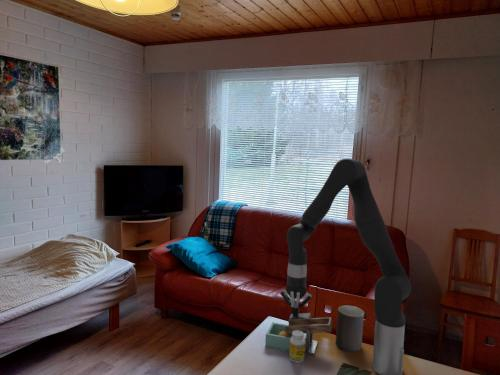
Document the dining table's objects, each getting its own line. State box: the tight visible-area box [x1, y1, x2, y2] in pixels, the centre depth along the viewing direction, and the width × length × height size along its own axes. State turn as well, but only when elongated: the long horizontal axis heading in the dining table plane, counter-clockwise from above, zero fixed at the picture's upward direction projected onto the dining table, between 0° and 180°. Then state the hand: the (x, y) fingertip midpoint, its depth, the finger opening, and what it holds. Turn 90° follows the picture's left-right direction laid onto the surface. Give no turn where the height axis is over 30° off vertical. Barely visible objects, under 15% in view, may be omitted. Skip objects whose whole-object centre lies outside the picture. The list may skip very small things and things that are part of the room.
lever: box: [285, 312, 334, 334], centre depth 140 cm, size 18×15×3 cm
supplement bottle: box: [288, 330, 306, 364], centre depth 129 cm, size 5×5×10 cm
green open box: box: [264, 322, 292, 353], centre depth 139 cm, size 10×10×5 cm
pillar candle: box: [334, 304, 365, 352], centre depth 139 cm, size 10×10×15 cm
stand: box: [304, 329, 318, 357], centre depth 136 cm, size 5×9×9 cm, turn 162°
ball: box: [279, 331, 289, 337], centre depth 139 cm, size 4×4×4 cm
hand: (294, 315), depth 148 cm, fingers closed
